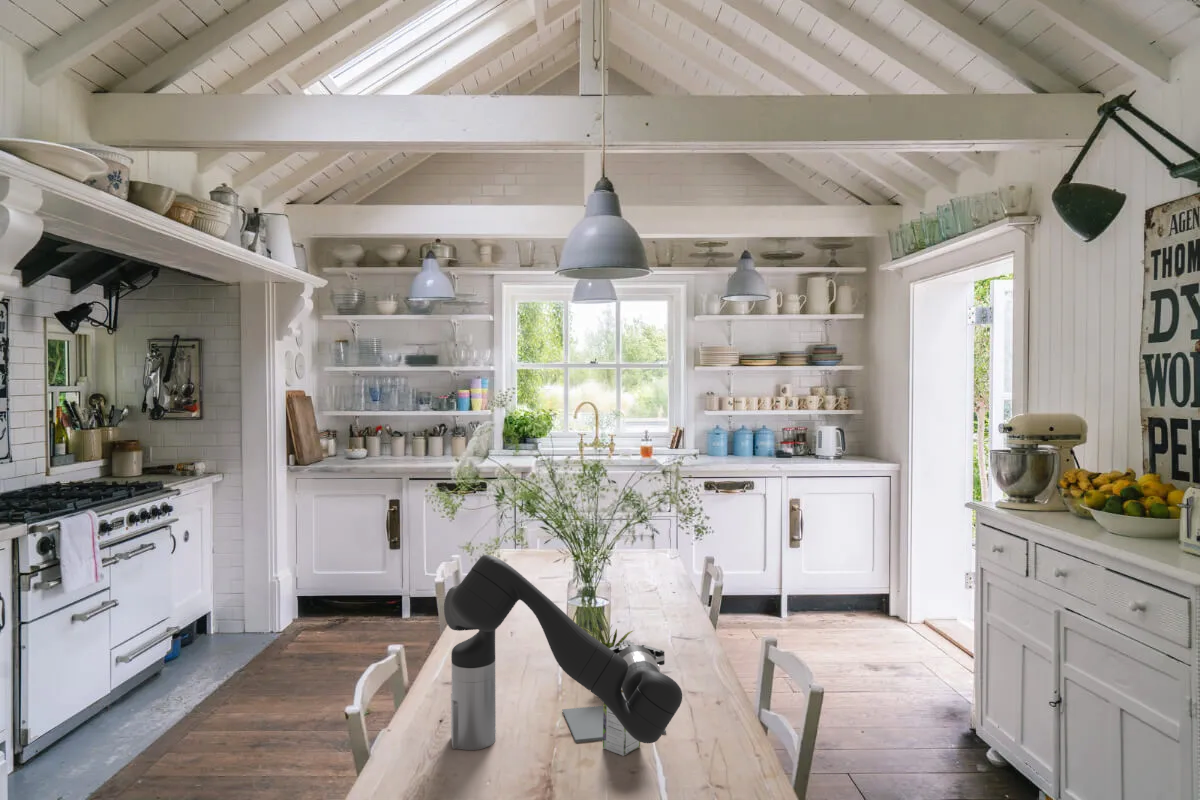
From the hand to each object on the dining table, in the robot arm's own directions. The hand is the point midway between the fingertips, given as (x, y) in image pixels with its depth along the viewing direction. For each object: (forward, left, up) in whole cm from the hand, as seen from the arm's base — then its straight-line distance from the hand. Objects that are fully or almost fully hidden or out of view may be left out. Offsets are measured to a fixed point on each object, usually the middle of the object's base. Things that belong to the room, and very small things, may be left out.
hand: (626, 645), depth 159 cm
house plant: (+4, +39, -24) cm, 46 cm away
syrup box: (+1, +8, -25) cm, 26 cm away
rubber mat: (+2, +20, -24) cm, 32 cm away
